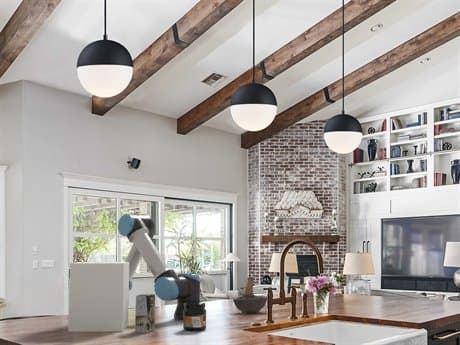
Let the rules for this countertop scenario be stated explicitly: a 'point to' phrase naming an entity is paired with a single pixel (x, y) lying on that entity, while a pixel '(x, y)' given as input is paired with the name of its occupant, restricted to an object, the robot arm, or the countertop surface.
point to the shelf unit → (98, 296)
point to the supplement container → (194, 316)
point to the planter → (250, 300)
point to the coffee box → (145, 313)
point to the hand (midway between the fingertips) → (105, 271)
